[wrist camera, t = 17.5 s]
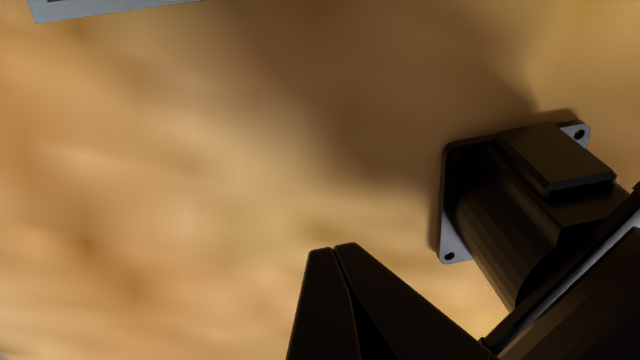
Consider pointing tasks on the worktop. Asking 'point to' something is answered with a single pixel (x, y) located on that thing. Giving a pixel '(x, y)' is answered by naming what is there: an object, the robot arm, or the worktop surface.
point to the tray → (87, 7)
